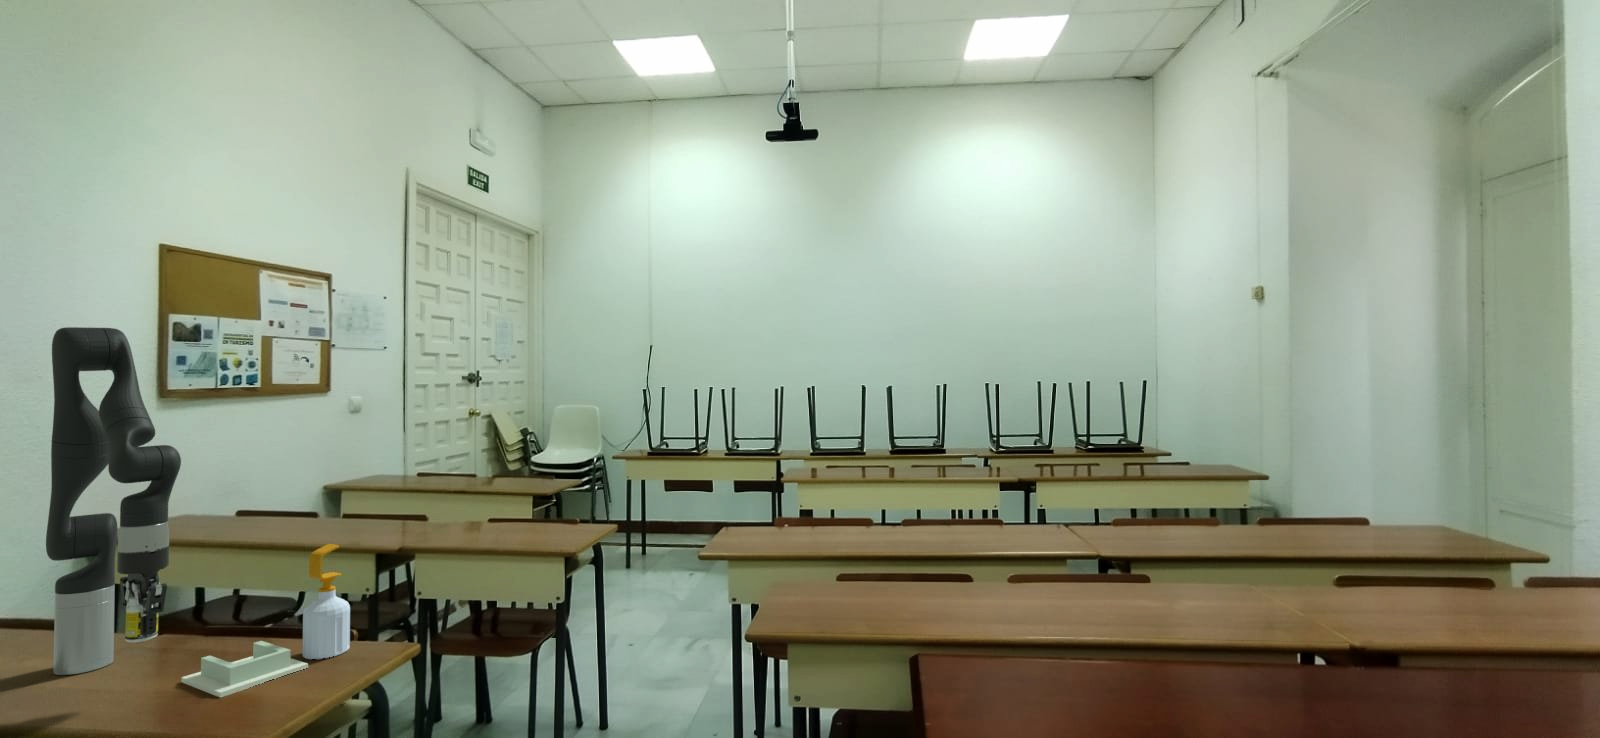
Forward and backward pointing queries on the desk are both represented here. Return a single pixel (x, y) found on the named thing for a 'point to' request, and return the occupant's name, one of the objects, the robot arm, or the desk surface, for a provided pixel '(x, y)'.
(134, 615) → the supplement bottle
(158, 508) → the robot arm
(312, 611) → the soap bottle
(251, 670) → the u rest
